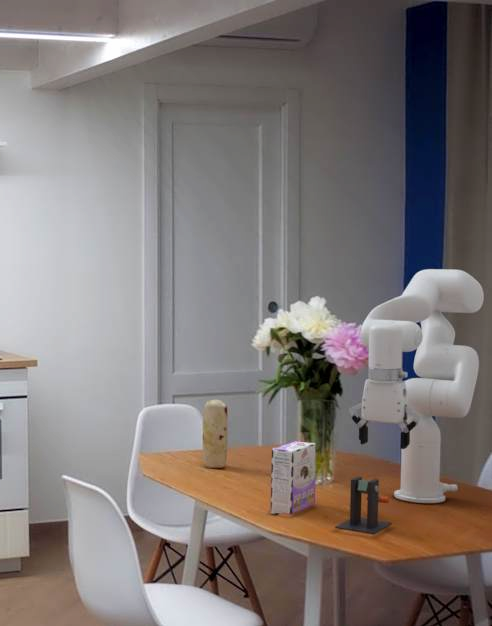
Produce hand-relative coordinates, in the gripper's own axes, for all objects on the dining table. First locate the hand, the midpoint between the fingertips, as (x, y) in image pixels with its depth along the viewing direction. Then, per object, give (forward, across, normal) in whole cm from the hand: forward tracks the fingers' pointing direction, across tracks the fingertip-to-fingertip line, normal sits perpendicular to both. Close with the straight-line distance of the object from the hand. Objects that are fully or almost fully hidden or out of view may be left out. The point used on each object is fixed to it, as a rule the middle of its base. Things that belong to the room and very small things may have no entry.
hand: (383, 445), depth 256 cm
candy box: (+18, +20, +6) cm, 28 cm away
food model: (+19, +61, -30) cm, 71 cm away
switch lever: (+11, 0, +9) cm, 14 cm away
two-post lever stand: (+18, 0, +13) cm, 22 cm away
